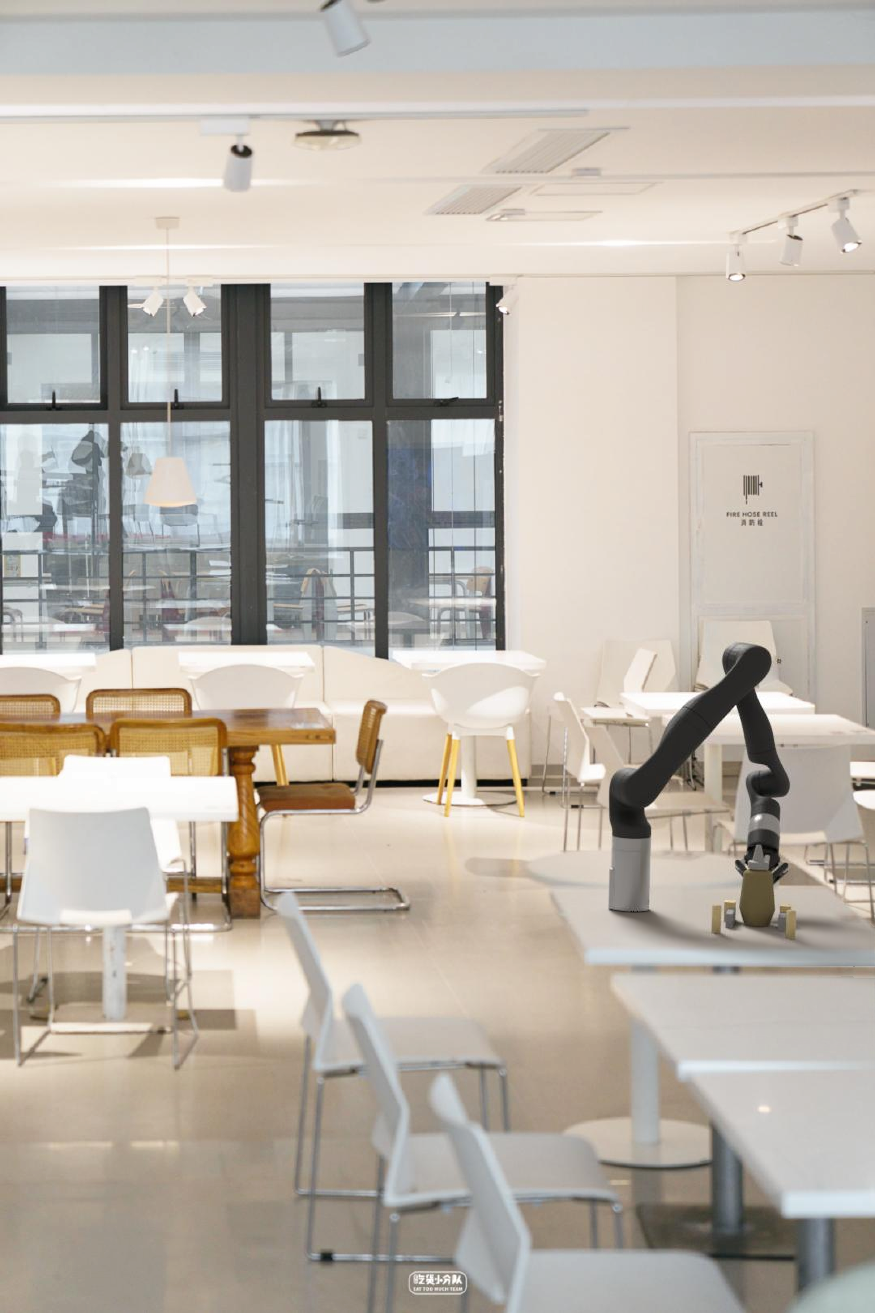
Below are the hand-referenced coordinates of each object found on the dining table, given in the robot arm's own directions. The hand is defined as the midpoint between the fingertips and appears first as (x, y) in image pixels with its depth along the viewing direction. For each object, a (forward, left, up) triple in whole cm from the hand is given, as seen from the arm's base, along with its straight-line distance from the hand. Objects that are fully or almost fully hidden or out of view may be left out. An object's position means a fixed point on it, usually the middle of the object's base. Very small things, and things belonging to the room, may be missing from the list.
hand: (759, 896), depth 354 cm
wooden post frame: (0, -13, -5) cm, 14 cm away
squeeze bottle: (0, -8, -5) cm, 9 cm away
